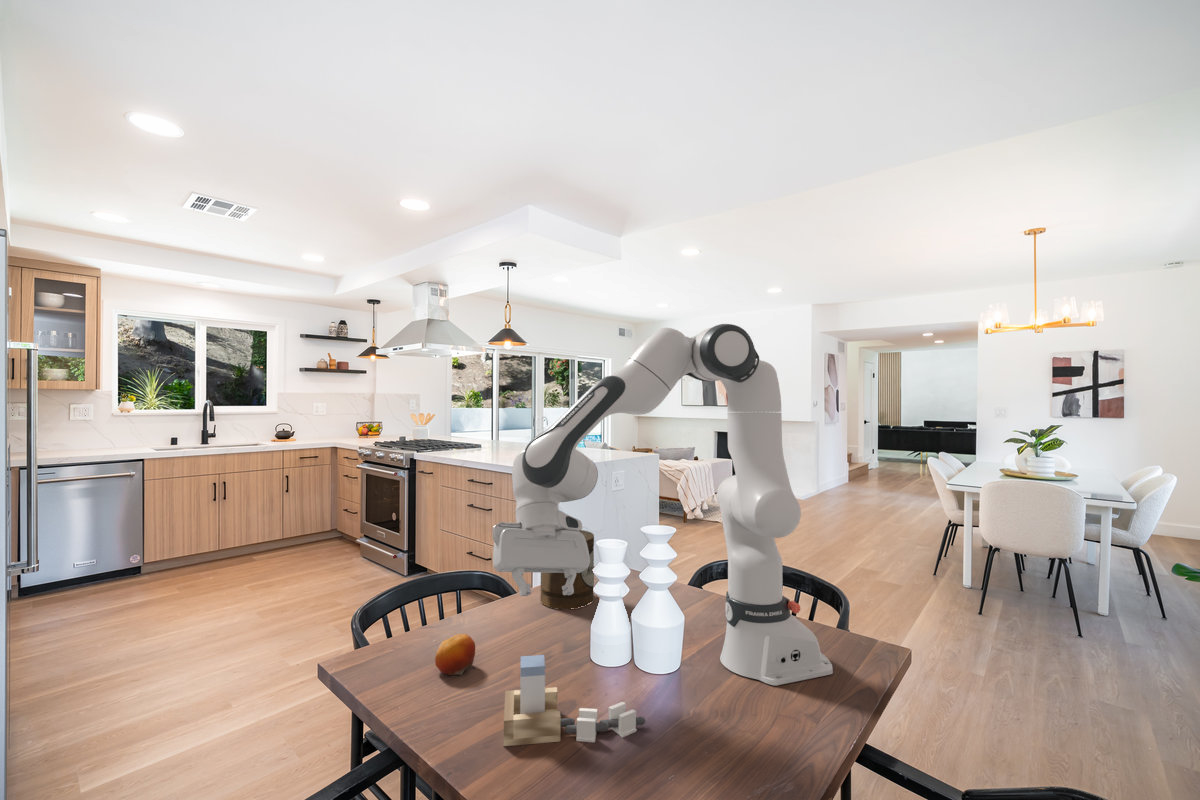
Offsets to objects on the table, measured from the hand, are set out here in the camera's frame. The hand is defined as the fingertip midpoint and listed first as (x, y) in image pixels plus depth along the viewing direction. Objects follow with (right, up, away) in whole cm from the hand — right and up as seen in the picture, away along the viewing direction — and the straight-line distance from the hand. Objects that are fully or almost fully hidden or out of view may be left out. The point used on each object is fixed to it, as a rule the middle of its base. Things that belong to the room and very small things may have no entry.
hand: (547, 594), depth 100 cm
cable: (+9, -18, -11) cm, 23 cm away
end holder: (-2, -18, -10) cm, 21 cm away
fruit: (-20, -19, +9) cm, 29 cm away
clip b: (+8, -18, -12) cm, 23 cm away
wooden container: (+1, -19, +49) cm, 52 cm away
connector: (-2, -17, -10) cm, 20 cm away
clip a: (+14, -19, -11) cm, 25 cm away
